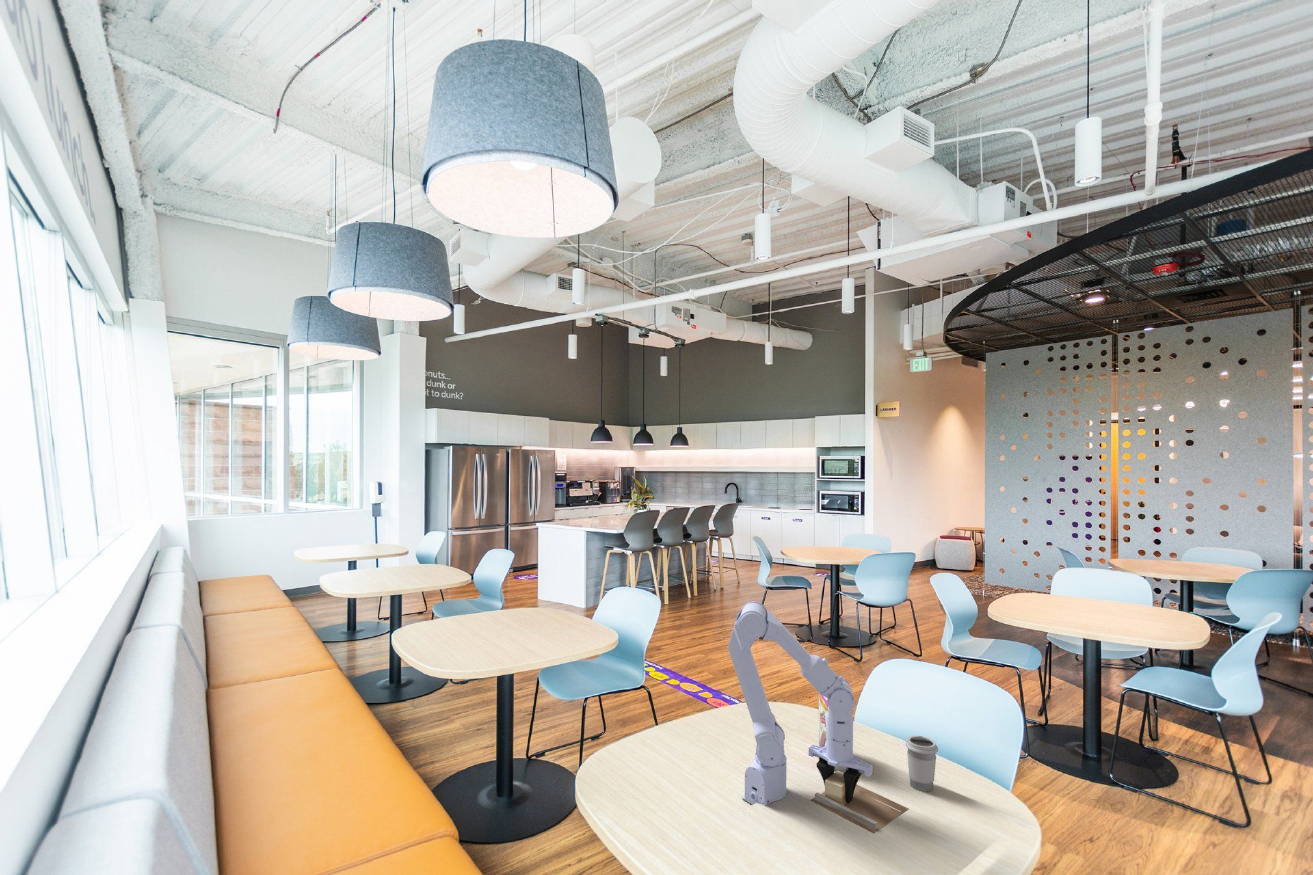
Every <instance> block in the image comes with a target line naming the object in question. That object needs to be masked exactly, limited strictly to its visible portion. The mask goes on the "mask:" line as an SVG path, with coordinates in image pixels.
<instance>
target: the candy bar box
mask: <svg viewBox="0 0 1313 875" xmlns="http://www.w3.org/2000/svg"><path fill="white" fill-rule="evenodd" d="M827 713H828V704H827V698H826V697H825V696H823V695H821V694H820V693H819V692H818V746H820V747H826V748H827ZM846 770H848V768H846V767H843V766H835V770H834V771H846Z"/></svg>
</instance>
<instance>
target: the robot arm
mask: <svg viewBox="0 0 1313 875" xmlns="http://www.w3.org/2000/svg"><path fill="white" fill-rule="evenodd" d="M761 637H762V641H765V642H766V641H767V642H768V641H769V642H771V641H772V642H775V643H777V644H778V646H780V647H781V648H782V649H783V650H784V651H785V652H786V653H787V654H788V655H789V656H790V657H791V658H792V659H793V660H794V661H795V662H797V664H798V665H799V666H800V674H801V676H802V677H804V679H805V680H806V681H808V683H810V685H811V686H812V687H813V688H814V689H815V690H816V691H817V692H818V694H819V693H820V694H821V695H823V696H825V697H826V698H827V704H828V713H827V748H826V747H820V746H819V745H816V744H811V745H809V747H808V756H809V757H811V758H812V757H813V758H814V757H816V758H818V761H817V762H816V768H817V770H818V771H819V773H820V776H821V779H822V781H823V784H824V786H825V780H826V779H828V778H829V777H830V776H831V775H833V774H834V773H835V771H836V770H835V766H843V767H846V768H847V770H844V772H843V777H844V781H845V800H846V802H847V803H849V802H850V801H852V799H853V794H854V790H855V787H856V784H857V785H858V782H859V780H860V778H861V776H862V774H864V776H865V777H867V778H870V777H871V776H872V775H873V770H874V769H873V768H874V767H873V765H872V764H870V763H867V762H866V761H864V760H862V759H860V758H858V757H857V756H855V755H854V717H853V714H854V711H853V710H854V708H855V705H856V702H855V696H854V694H853V689H852V686H851V684H850V683H849V681H848V680H847V679H845V678H843V676H842V675H838V674H837V673H836V672H835V671H834V670H833V669H832V668H831V667H830V665H829V661H828V660H827V658H825V657H823V658H822V657H821V656H819V655H817V654H816V655H815V654H810V653H809V652H808V651H807V650H806V648H805V647H804V646H803V645H802V644H801V643H800V642H799V641H798V640H797V638H796V637H795V636H794V635H793V634H792V633H791V632H790V630H788V628H787V627H786V626H785V625H784V624H783V623H782V622H781V620H780V619H779V618H778V617H777V616H776V615H775V614H774V613H773V612H771V611H770V610H768V609H767V607H766V606H765V605H764V604H762V603H761V602H759V601H756V600H755V601H754V600H753V601H748V602H746V603H745V604H744V605H743V606H742V607H741V609H740V610H739V612H738V613H737V614H736V618H735V622H734V624H733V629H732V632H731V636H730V639H729V642H728V645H727V649H728V653H729V656H730V658H731V662H732V664H733V665H732V666H733V668H734V671H735V673H736V676H737V680H738V683H739V685H740V689H741V691H742V694H743V698H744V700H745V704H746V706H747V709H748V712H749V713H748V714H749V716H750V718H751V722H752V727H753V734H754V735H753V736H754V738H755V741H756V746H755V753H754V758H753V760H752V763H751V764H750V765H748V767H747V768H746V769H745V771H744V794H743V795H741V799H742V800H744V801H746V802H748V803H749V804H751V805H755V804H757V803H758V804H760V805H763V807H764V806H767V805H769V804H771V803H772V802H776V801H778V800H782V799H784V798H785V797H786V796H787V756H786V755H785V739H786V734H785V731H784V728H782V726H781V725H780V724H779V723H778V722H777V720H776V717H775V715H774V714H773V712H772V709H771V707H770V704H769V702H768V698H767V696H766V695H767V694H766V692H765V690H764V685H763V683H762V680H761V677H760V675H759V671H758V668H757V665H756V662H755V659H754V657H753V654H752V650H751V648H752V647H753V645H754V644H755V642H756V641H757V640H758V639H760V638H761Z"/></svg>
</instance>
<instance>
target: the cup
mask: <svg viewBox="0 0 1313 875" xmlns="http://www.w3.org/2000/svg"><path fill="white" fill-rule="evenodd" d="M905 747H906V749H907V767H908V776H909V784H910V787H911V788H912V789H914V790H915V791H918V792H922V793H929V792H931V791H933V788H934V781H935V775H936V774H935V773H936V764H937V763H936V761H937V754H936V753H938V752H939V748H938V746H937V744H936V742H935V740H933V739H931V738H930V737H926V736H923V735H912V736H909V737H908V739H907V740H906V742H905Z"/></svg>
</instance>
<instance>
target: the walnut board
mask: <svg viewBox="0 0 1313 875" xmlns="http://www.w3.org/2000/svg"><path fill="white" fill-rule="evenodd" d="M809 801H810V802H812V803H813V804H816V805H818V806H819V807H821V808H824V809H826V810H828V811H829V812H832V813H834V814H835V815H837V816H839V817H841V818H843V819H845V820H847V821H848V822H851V823H852V824H854V825H856V826H859V827H860V828H862V829H864V830H866V831H868V832H871V833H872V834H876V833H877V832H878V831H879V830H881V829H883V828H884V827H886V826H887V825H888V824H890V823H891V822H893V821H894V820H895V819H897V818H898V817H900V816H901V815H903V814H904V813H905V812H907V811H909V810H910V809H909V807H906V806H904V805H902V804H900V803H898V802H895V801H893V800H892V799H889V798H887V797H885V796H882V795H880V794H878V793H877V792H874V791H872V790H870V789H868V788H865V787H863V786H861V785H860V784H858V783H857V784H856V787H855V790H854V797H853V799H852V801H850V802H849V803H846V804H845V805H844V806H843V805H841V804H839V803H837V802H835V801H833V800H831V799H829V798H827V797H825V791H823V792H822V793H819V792H816V793H814V797H813V798H811V799H809Z"/></svg>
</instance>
